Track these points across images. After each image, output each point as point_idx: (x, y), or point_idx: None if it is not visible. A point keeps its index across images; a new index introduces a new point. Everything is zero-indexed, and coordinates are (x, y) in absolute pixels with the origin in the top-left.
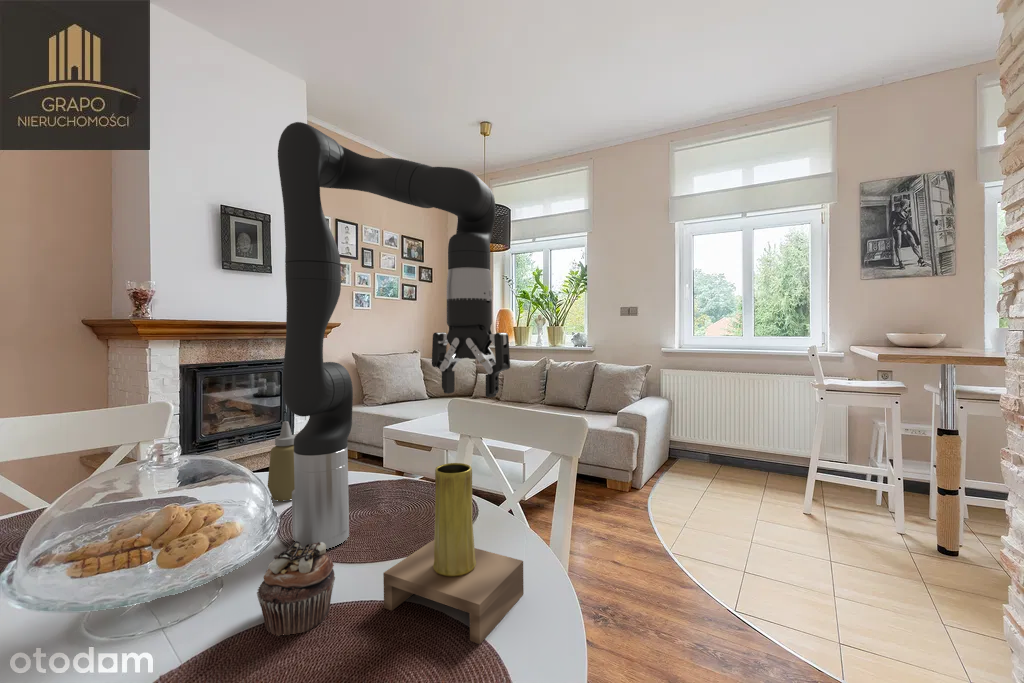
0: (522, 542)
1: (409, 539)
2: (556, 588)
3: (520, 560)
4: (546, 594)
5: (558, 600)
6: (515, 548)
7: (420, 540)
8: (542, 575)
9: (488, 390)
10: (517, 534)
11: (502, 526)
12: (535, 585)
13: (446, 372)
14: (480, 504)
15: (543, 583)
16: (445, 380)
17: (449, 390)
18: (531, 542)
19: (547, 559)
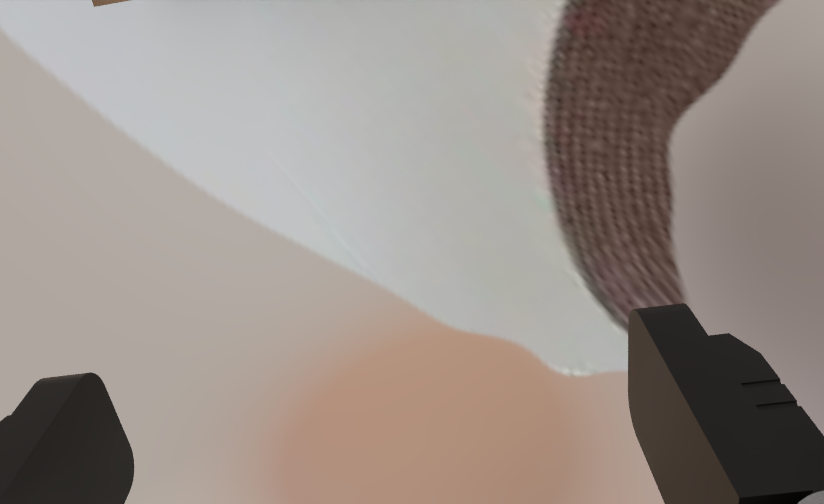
0: (344, 230)
1: (683, 20)
2: (89, 78)
3: (102, 2)
4: (87, 34)
5: (42, 30)
6: (336, 189)
7: (641, 40)
8: (166, 111)
9: (19, 416)
10: (391, 261)
11: (466, 276)
12: (143, 54)
13: (740, 491)
14: None
15: (134, 77)
16: (706, 394)
17: (637, 358)
18: (322, 245)
19: (217, 192)
